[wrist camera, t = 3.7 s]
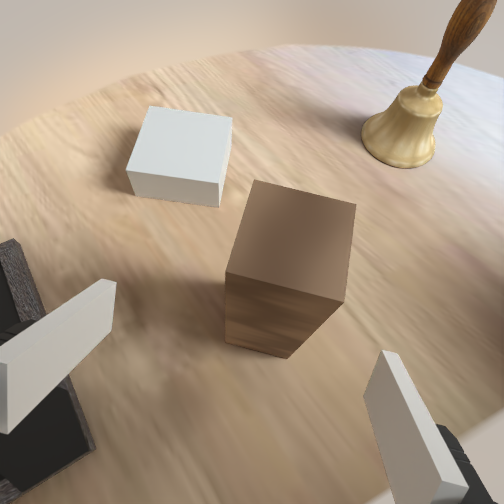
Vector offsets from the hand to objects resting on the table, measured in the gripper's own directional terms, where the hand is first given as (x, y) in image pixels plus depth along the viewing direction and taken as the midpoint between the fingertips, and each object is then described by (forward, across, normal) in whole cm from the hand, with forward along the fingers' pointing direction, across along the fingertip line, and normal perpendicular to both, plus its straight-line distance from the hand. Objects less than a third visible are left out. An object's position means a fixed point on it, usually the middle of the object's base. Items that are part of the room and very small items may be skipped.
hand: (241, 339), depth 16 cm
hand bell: (+27, +12, +13) cm, 32 cm away
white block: (+20, -10, +5) cm, 23 cm away
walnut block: (+10, +1, -4) cm, 11 cm away
